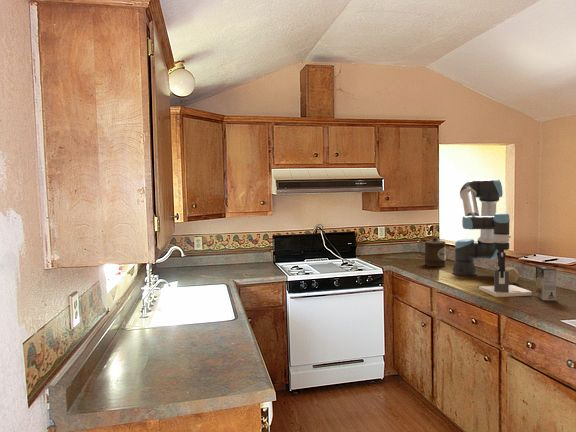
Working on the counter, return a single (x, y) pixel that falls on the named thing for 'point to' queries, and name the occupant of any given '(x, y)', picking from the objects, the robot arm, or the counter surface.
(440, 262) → the wooden container
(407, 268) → the counter surface
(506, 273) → the grey block with stripe
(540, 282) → the coffee box
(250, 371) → the counter surface
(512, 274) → the low-poly potato
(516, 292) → the panel
